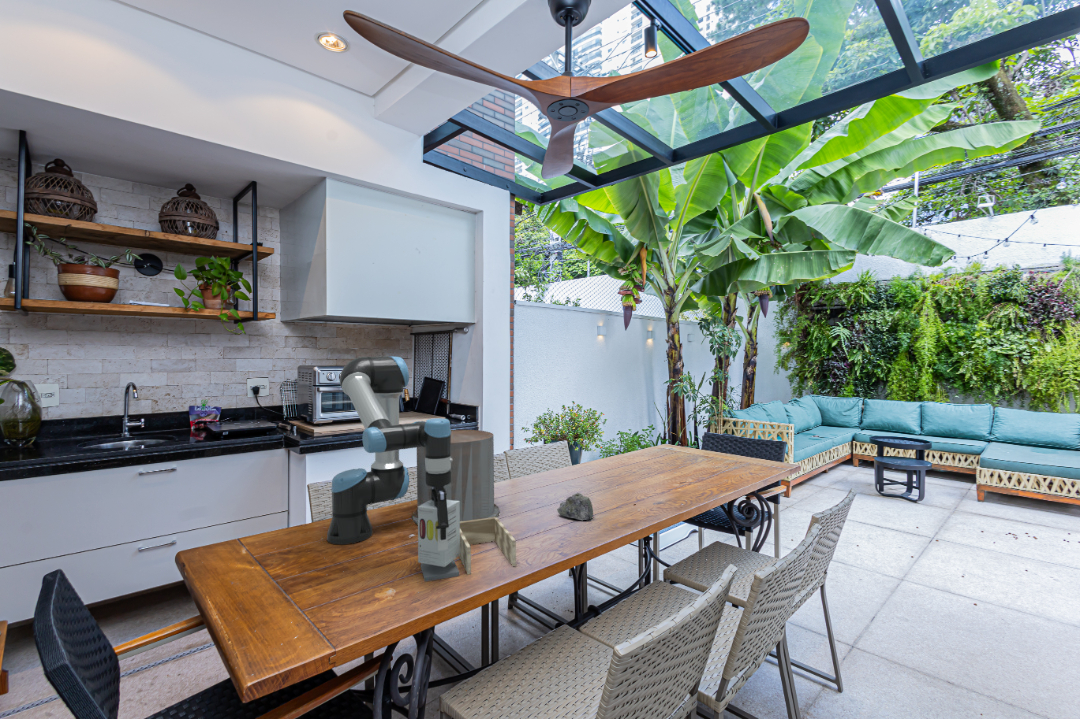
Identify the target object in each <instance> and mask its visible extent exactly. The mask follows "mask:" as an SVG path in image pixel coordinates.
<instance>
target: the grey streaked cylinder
mask: <svg viewBox="0 0 1080 719" xmlns="http://www.w3.org/2000/svg"><path fill="white" fill-rule="evenodd" d="M494 440H495V439H494V433H493V432H490V431H487V430H479V429H451V458H452V459H453V461H452V462H450V463H451V469H450V471H451V483H450V484H448V485H445V486H444V488H445V490H446V493H447V495H446V498H447V500H453V501H460V521H468V520H476V519H484V518H491V517H498V518H499V516H500V515H499V513H500V507H499V506H498V505H497V504H495V469H494V468H495V464H494V463H495V460H494V459H495V456H494V453H495V452H494V451H495V450H494V448H495V447H494ZM426 472H427V471H426V470H425V447H416V495H417V496H416V498H417V501H416V505H417V506H416V507H417V508H416V509H415V510H414V511H413V512H412V515H411V520H413V521H412V523H413V522H414V523H415V524H417V525H418V506H420V505H422V504H424V503H426V502H428V501H430V500H431V486H428V485H427V484H426ZM498 515H499V516H498ZM414 523H413V524H414ZM415 524H414V525H415ZM417 525H416V526H417Z"/></svg>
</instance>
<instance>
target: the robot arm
mask: <svg viewBox="0 0 1080 719" xmlns="http://www.w3.org/2000/svg"><path fill="white" fill-rule="evenodd" d="M409 381H410V374H409V368H408V365H407V363H406V362H405V360H404V359H403V357H400V356H390V355H389V356H359V357H356V358H353V359H352V360H350V361H349V362H348V363H347V364H346V365H344V367H343V368H342V370H341V372H340V375H339V384H340V387H341V390H342V391H343V393H344V394H345V395H347V396H348V397H349V398H350V401H351V403H352V405H353V407H354V409H355V411H356V413H357V415H358V417H359V419H360V422H361V425H363V427H364V430H363V433H362V437H361V438H362V439H361V440H362V444H363V449H364V451H365V452H367V453H368V454H372V453H373V454H375V455H374V458H375V459H374V460H375V461H374V462H372V464H371V465H370V470H369V471H367V470H366V468H351V469H347V470H344V471H341V472H339V473H337V474H336V475H334V476H333V478H332V480H331V490H330V491H331V512H332V513H331V520H330V523H329V527H328V530H327V532H326V533H327V534H326V535H327V536H326V540H327V542H328V543H330V544H331V545H332V544H333V545H351V544H350V543H352V544H356V542H357V543H360V542H363V541H366V540H368V539H369V538H371V537H370V536H373V525H372V523H371V520H370V518H369V515H368V505H373V504H377V503H382V502H387V501H394V500H395V501H396V500H398V499H401V498H404V497H405V496H406V494H407V492H408V489H409V485H410V474H409V470H408V468H407V467H406V466H404V462H403V461H402V460H400V450H406V449H413V448H414V449H415V448H416V449H417V447H425V470H426V471H427V472H426V484H427V485H428V486H431V499H432V500H433V501H434V505H435V506H436V507H437V518H438V526H436V529H438V551H442V550H448V533H447V528H448V527H449V524H448V512H447V498H446V495H447V493H446V490H445V488H444V486H445V485H448V484H450V483H451V471H450V469H451V463H450V462H452V461H453V459H452V458H451V430H452V428H451V422H450V420H449V419H448V418H441V417H440V418H437V417H436V418H429V419H426V421H423V420H421V421H419V420H418V421H414V422H412V423H406V424H400V396H401V395H402V394H403V393H404V388H405V387H407V386H408V385H409ZM442 523H445V524H442ZM365 539H366V540H365ZM359 541H360V542H359Z"/></svg>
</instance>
